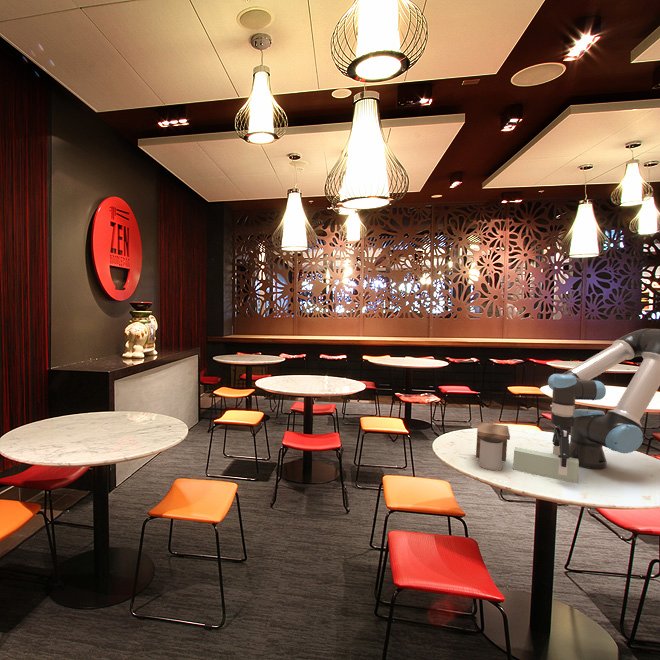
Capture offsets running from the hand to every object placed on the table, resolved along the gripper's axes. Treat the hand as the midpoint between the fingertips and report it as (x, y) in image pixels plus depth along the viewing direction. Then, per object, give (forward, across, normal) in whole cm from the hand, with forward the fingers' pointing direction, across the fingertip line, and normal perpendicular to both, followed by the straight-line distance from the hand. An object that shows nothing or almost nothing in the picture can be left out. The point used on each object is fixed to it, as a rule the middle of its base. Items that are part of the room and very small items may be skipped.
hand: (559, 468), depth 149 cm
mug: (+4, 0, -25) cm, 25 cm away
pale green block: (+4, 0, -5) cm, 6 cm away
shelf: (+3, -1, -24) cm, 25 cm away
